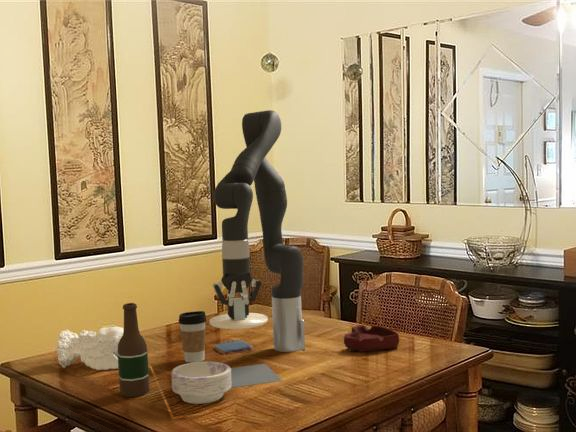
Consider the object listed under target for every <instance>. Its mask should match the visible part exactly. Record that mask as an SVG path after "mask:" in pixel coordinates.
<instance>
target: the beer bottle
mask: <svg viewBox="0 0 576 432" xmlns="http://www.w3.org/2000/svg"><path fill="white" fill-rule="evenodd" d="M137 308H138V306H137V303H134V302H129V303H128V302H127V303H124V304H122V309H123V329H124V331H123V336H122V337H121V339H120V341H119V344H118V368H117V369H118V382H119V383H118V384H119V392H120V394H121V396H122V397H124V398H125V397H126V398H136V397H142V396H144V395H146V394H147V393H149V392H150V374H149V357H148V356H149V355H148V347H147V342H146V340H145V338H144V337H143V336H142V334H141V333H140V329H139V323H138V322H139V321H138V314H137V313H138V312H137Z"/></svg>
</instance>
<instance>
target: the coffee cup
mask: <svg viewBox="0 0 576 432" xmlns="http://www.w3.org/2000/svg"><path fill="white" fill-rule="evenodd" d="M206 322H207V316H206V312H205V310H204V311H202V310H201V311H200V310H199V311H198V310H197V311H196V310H195V311H188V312H186V311H185V312H183V313H180V314H179V317H178V324H179V327H180V330H179V331H180V339H181V344H182V351H183V358H184V359H183V360H184V361H185V362H186V363H193V362H204V360H205V353H206V352H205V350H206V349H205V348H206V334H207V333H206V332H207V331H206V330H207V327H206Z"/></svg>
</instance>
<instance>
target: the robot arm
mask: <svg viewBox="0 0 576 432" xmlns="http://www.w3.org/2000/svg"><path fill="white" fill-rule="evenodd" d="M281 120H282V119H281V118H280V115H279V113H278V112H276V111H275V110H269V109H268V110H261V111H256V112H255V111H254V112H248V113H245V114H244V115H243V117H242V121H241V128H242V129H241V130H242V135H243V139H244V143H245V147H246V148H244V149H243V150H242V151H240V153H239V154H238V155H237V157H236V158H235V160H234V162H233V163H232V167H231V169H230V171H229V172H227V173H226V174H225V176H224V177H222V179H221V180H220V181H219V182H218V183H217V184H216V186H215V188H214V192H213V201H214V203H215V205H216V206H217V208H219V209H222V210H231V209H232V210H233V209H235V210H236V213H235V215H234V216H230V217H226V218H224V219H223V220H222V221H221V235H222V236H221V237H222V240H221V241H222V243H221V257H222V258H221V259H222V261H221V262H222V276H221V281H219V282H217V283H213V284H212V287H213V290H214V291H215V294H216V295H217V298H218V299H219V301H220V303H221V304H222V305H226V306H227V314H228V316H229V317H230V318H231V319H234V306H233V300H234V299H235V297H236V296H235V295H236V294H237V293H240V296H241V298H243V299H244V300H245V318H247V316H248V315H249V313H250V309H249V307H250V304H251V303H252V302H255V301H256V298H257V296H258V293H259V291H260V288H261V285H262V282H261V280H259V279H254V278H253V277H252V275H251V274H252V273H251V259H250V258H251V251H250V243H249V232H248V231H249V229H248V228H249V227H248V224H249V216H250V211H251V207H252V204H253V200H254V193H253V190H252V187H251V185H252V184H254V191H255V196H256V201H257V207H258V211H259V218H260V224H261V231H262V241H263V242H262V243H263V256H264V263H265V265H266V267H267V269H268V270H269V272H270V273H273V274H276V275H280V278H279V279H280V281H279V284H276V285H274V286H273V287H271V311H272V314H271V315H272V333H273V334H272V335H273V350H275V351H277V352H282V353H283V352H284V353H291V352H297V351H304V350H306V342H305V341H306V338H305V320H304V319H303V315H302V311H303V310H302V288H303V285H304V259H303V258H304V257H303V253H302V251H301V250H300V248H299V247H297V246H294V245H289V244H288V245H286V244H285V243H284V238H283V235H282V234H283V232H282V225H283V221H284V217H285V215H286V213H287V212H286V211H287V208H288V196H287V192H286V191H287V190H286V185H285V181H284V180H283V178H282V176H281V175H280V174H279V172H278V171H277V170H276V169H275V168H274V167H273V165H272V164H271V163H270V162H269V161H268V159H267V157H266V156H267V155H268V154H269V152H270V151H271V149H272V148H273V147H274V145H275V144H276V142H277V141H278V139H279V138H280V136H281V133H282V122H281ZM250 285H251V286H252V288H251V291H250V294H248V288H249V287H250ZM223 286H224V288H225V289H226V290H227V294H226V295H227V298H225V296H224V294H223V292H222V290H223Z"/></svg>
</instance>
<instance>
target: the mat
mask: <svg viewBox="0 0 576 432" xmlns="http://www.w3.org/2000/svg"><path fill="white" fill-rule="evenodd" d="M230 368H231V379H232V380H231V381H232V383H231V388H230V389H234V388H238V387H239V388H240V387H247V386H254V385H261V384H262V385H263V384H268V383H275V382H282V381H283V380H282V379H281V377H279V376H278V374H276V373H275V372H274V371H273V370H272V369H271V368H270V367H269V366H268V364H266V363H260V364H259V363H258V364H253V365H245V366H238V367H237V366H235V367H230Z"/></svg>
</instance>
